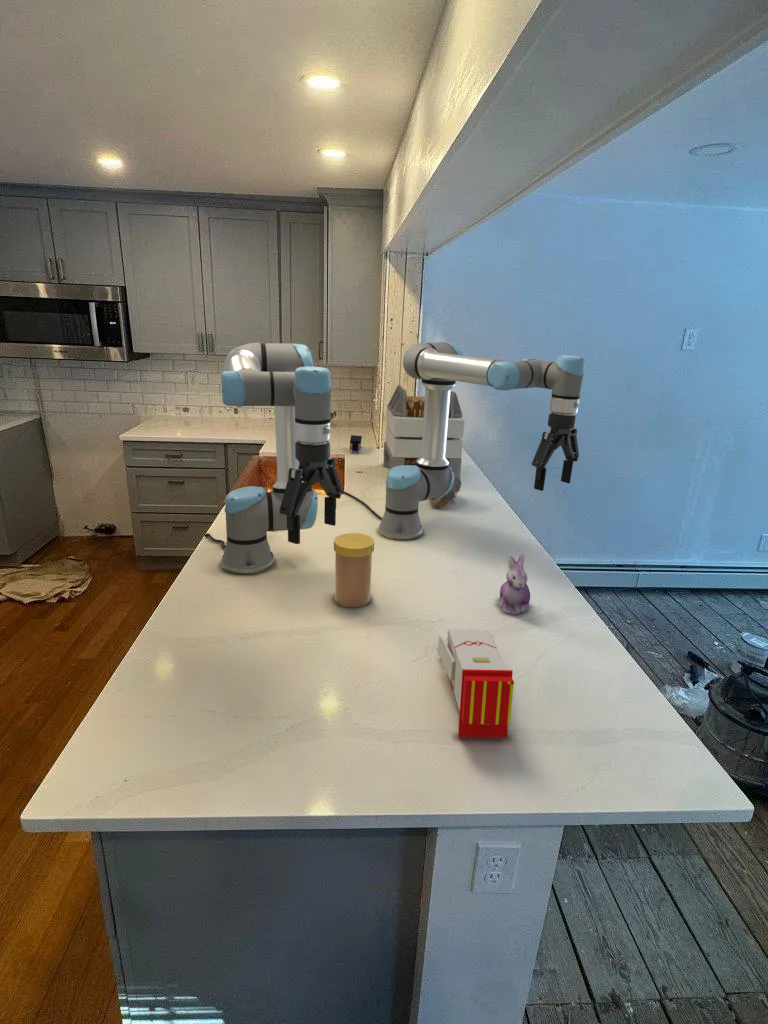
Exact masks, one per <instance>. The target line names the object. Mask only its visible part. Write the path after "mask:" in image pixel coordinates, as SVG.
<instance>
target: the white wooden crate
mask: <svg viewBox="0 0 768 1024" xmlns="http://www.w3.org/2000/svg"><path fill="white" fill-rule="evenodd" d="M407 394H408V393H407V390H406V389H404V388H403V387H402V385H399V384H398V385H397V386H396V388H395V390H394V392H393V394H392V395H391V398H390V400H389V402H388V404H387V405H386V413H385V414H386V415H385V423H386V428H385V438H384V442H383V466H384V467H388V468H389V470H390V469H392V468H394V467H396V466H401V465H404V466H405V465H413V466H416V461H417V459H418V458H420V457H421V449H422V434H423V419H424V404H425V396H415V395H414V396H413V395H412V396H411V395H407ZM464 429H465V419H464V418H463V411H462V408H461V405H460V402H459V398H458V395H457V392H455V391H453V390H451V392H450V404H449V416H448V428H447V441H446V453H445V458H446V459H447V461H448V462H449V466H450V467H451V469H452V473H454V477H457V478H458V479H460V480H461V472H462V461H463V460H462V453H463V442H464V441H463V440H462V439H463V438H464V431H465V430H464Z"/></svg>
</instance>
